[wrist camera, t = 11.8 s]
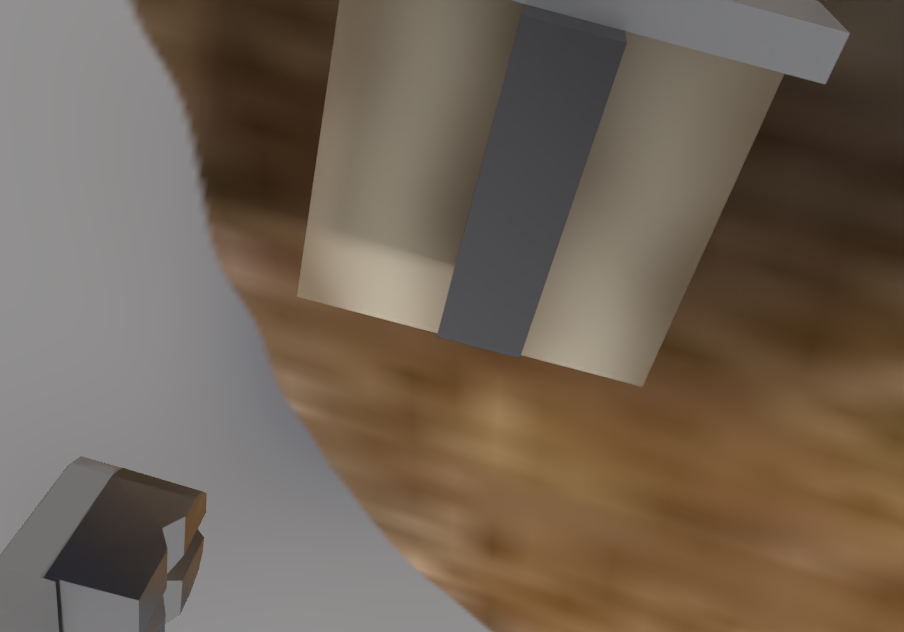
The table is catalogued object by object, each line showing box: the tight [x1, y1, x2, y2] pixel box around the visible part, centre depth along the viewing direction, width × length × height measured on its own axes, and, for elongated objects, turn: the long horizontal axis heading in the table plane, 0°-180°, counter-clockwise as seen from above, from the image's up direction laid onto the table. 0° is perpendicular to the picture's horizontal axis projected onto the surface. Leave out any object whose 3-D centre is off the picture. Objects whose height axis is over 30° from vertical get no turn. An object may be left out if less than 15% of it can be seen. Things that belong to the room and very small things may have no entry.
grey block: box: [437, 0, 850, 358], centre depth 23 cm, size 12×10×4 cm
